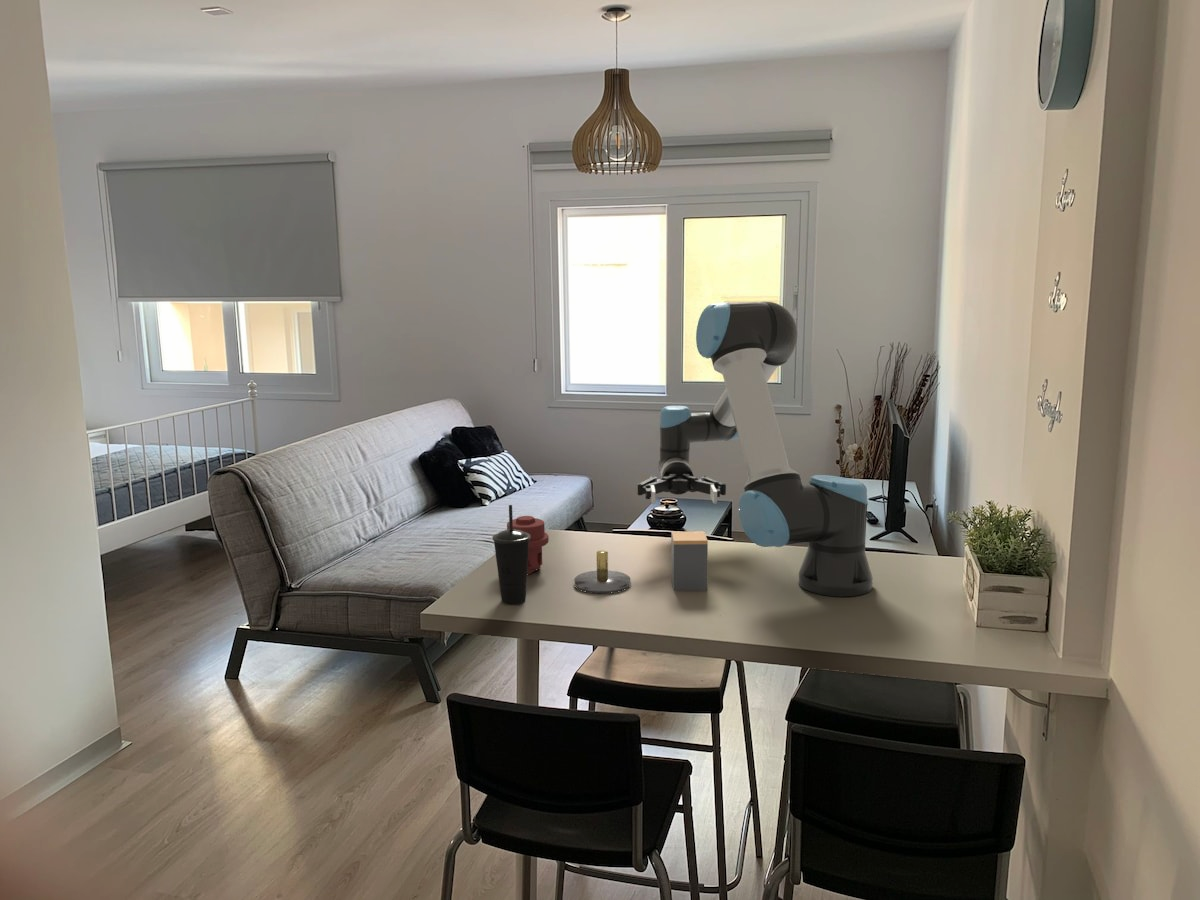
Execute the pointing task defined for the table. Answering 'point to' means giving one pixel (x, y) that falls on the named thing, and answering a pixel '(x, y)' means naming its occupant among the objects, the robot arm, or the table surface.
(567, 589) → the table surface
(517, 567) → the drinking cup
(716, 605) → the table surface
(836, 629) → the table surface
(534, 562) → the mechanical component
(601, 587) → the post base
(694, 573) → the sleeve
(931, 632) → the table surface
